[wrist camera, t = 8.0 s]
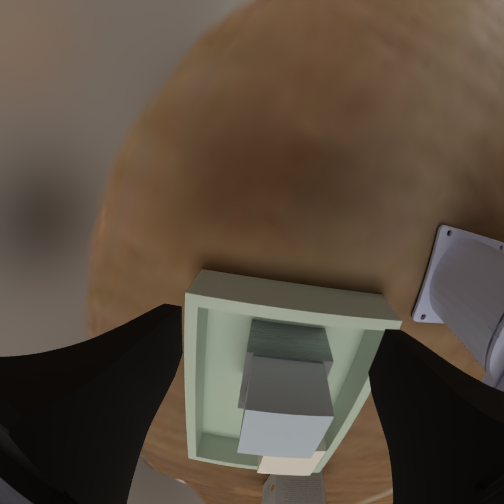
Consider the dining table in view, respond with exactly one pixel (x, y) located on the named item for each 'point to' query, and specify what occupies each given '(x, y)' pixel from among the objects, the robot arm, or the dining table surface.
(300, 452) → the grey cube
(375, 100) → the dining table surface
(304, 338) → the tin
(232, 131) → the dining table surface
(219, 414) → the crate
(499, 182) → the dining table surface
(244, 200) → the dining table surface
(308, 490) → the small box
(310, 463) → the beige cube
